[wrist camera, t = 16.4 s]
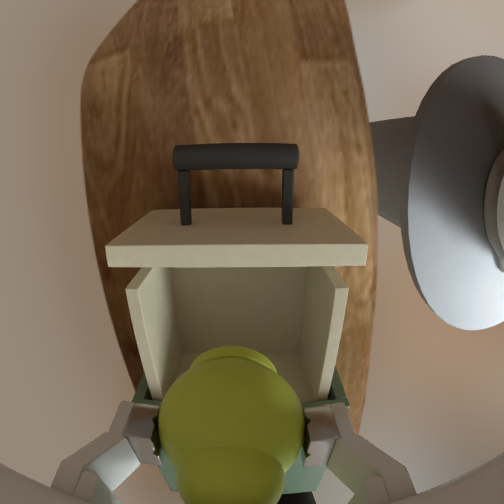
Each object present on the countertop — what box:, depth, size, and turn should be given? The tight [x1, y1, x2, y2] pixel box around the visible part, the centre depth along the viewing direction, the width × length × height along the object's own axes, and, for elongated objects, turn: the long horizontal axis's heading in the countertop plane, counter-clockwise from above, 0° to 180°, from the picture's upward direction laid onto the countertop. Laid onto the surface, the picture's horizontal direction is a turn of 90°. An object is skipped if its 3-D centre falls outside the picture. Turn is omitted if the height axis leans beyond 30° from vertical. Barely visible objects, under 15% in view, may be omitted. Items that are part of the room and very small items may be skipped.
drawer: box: [105, 143, 368, 403], centre depth 20 cm, size 18×13×9 cm
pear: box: [158, 346, 305, 504], centre depth 8 cm, size 5×5×7 cm
